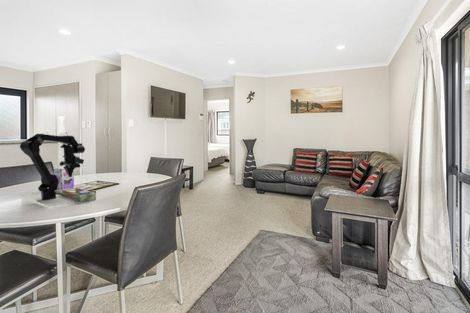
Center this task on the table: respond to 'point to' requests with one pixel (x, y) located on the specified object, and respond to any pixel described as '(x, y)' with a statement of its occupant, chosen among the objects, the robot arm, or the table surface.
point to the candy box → (63, 178)
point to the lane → (81, 197)
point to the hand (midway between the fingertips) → (70, 176)
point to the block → (84, 192)
